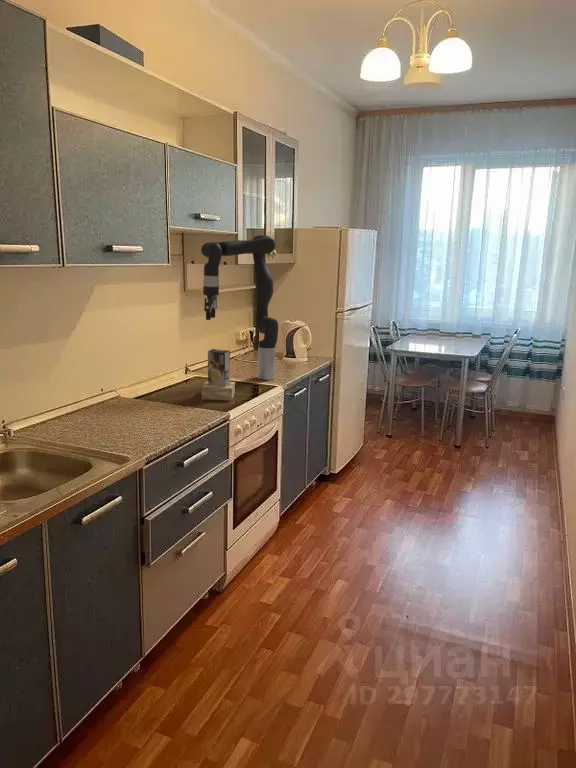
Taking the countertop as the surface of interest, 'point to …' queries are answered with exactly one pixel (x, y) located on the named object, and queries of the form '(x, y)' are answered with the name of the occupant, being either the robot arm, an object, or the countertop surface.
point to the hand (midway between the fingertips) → (210, 318)
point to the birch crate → (218, 391)
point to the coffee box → (218, 367)
